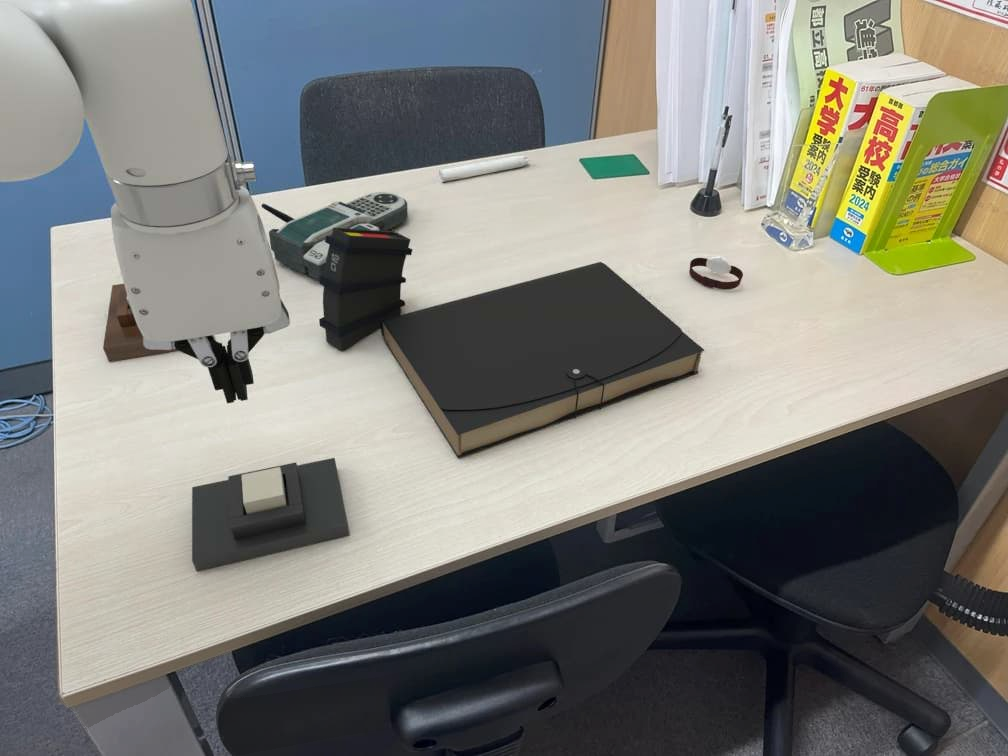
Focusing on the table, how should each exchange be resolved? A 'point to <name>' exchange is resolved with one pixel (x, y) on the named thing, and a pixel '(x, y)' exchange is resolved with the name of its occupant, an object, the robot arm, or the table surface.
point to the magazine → (361, 282)
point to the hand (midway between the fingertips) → (236, 390)
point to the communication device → (331, 228)
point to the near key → (263, 490)
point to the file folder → (536, 354)
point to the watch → (716, 272)
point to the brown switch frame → (124, 330)
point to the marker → (482, 168)
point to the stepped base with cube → (267, 516)
